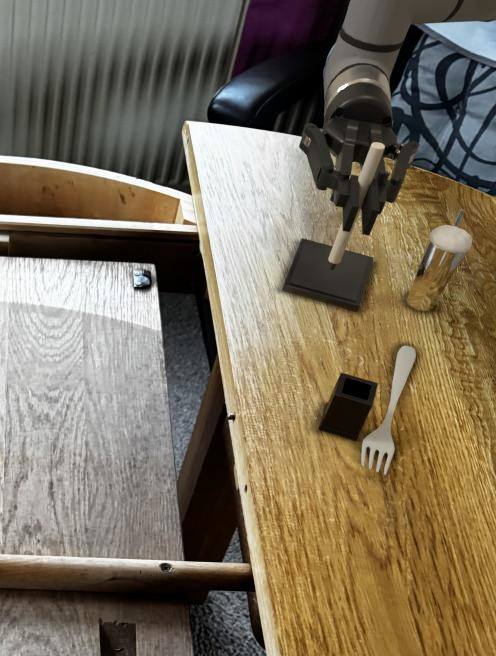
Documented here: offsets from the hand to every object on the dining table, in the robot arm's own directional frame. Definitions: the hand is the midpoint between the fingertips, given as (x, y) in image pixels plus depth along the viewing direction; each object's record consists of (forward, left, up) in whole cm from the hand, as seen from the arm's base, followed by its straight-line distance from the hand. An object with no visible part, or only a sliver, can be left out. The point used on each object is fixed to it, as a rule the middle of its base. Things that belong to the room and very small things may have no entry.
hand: (360, 220), depth 96 cm
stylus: (+1, -5, -9) cm, 10 cm away
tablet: (+1, -9, -12) cm, 15 cm away
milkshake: (-10, -10, -12) cm, 19 cm away
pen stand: (-5, +17, -12) cm, 21 cm away
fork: (-10, +12, -12) cm, 20 cm away
